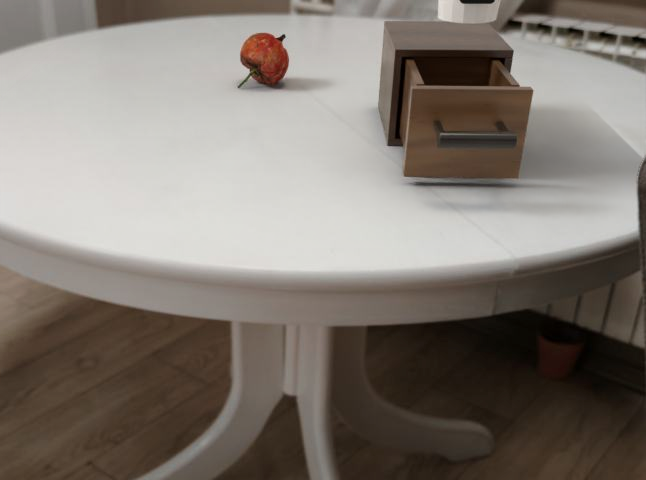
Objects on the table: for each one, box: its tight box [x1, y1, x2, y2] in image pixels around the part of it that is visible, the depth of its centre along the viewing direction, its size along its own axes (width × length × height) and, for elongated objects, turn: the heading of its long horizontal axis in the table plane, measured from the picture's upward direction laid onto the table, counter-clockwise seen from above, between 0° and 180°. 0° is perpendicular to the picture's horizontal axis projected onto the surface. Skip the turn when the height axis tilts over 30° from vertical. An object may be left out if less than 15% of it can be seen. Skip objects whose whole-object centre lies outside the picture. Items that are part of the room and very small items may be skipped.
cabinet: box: [377, 20, 515, 147], centre depth 96 cm, size 16×13×11 cm
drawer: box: [398, 57, 534, 180], centre depth 82 cm, size 20×11×9 cm, turn 177°
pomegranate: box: [237, 32, 290, 89], centre depth 113 cm, size 7×7×10 cm
